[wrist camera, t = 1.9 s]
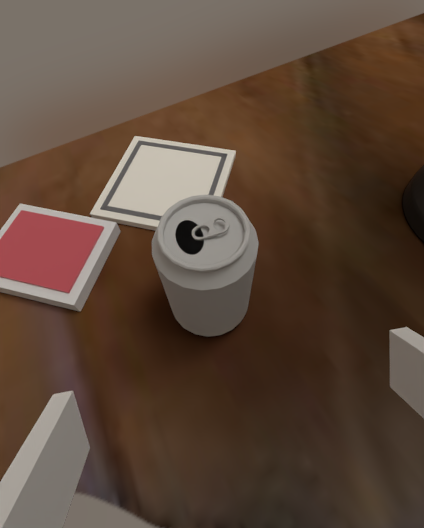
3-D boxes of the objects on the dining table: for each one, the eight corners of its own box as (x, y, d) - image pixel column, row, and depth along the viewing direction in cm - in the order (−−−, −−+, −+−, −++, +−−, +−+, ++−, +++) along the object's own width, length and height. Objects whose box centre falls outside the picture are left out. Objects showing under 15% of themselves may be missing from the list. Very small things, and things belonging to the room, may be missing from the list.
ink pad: (120, 231, 36) (115, 220, 34) (80, 311, 31) (72, 304, 29) (27, 212, 37) (18, 201, 36) (-25, 285, 33) (-38, 277, 31)
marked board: (235, 155, 41) (235, 150, 41) (208, 241, 35) (208, 236, 34) (136, 140, 44) (134, 135, 43) (92, 218, 37) (89, 213, 36)
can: (165, 279, 32) (138, 198, 22) (234, 261, 33) (240, 175, 23) (181, 349, 29) (157, 291, 18) (259, 327, 29) (278, 260, 19)
